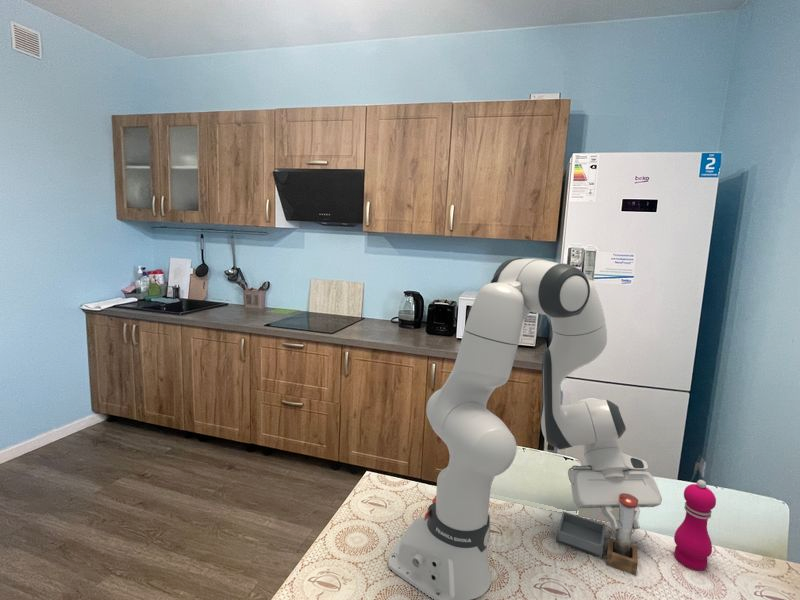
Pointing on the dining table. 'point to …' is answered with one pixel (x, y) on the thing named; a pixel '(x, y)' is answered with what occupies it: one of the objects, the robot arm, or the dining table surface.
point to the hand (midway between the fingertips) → (626, 529)
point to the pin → (625, 523)
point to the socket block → (622, 558)
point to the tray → (581, 534)
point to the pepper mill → (695, 527)
